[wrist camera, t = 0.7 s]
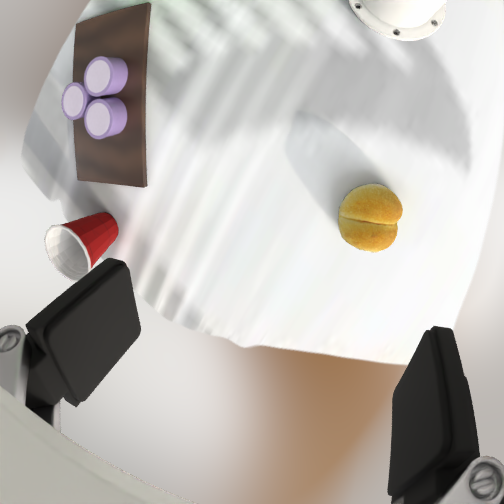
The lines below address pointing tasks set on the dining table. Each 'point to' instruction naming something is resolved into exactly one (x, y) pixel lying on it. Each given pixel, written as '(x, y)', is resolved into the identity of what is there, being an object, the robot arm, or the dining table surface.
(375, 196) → the bread roll
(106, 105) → the lavender round puck
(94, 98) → the lavender cylinder puck
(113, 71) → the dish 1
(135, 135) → the board
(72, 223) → the plastic cup
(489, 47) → the dining table surface
